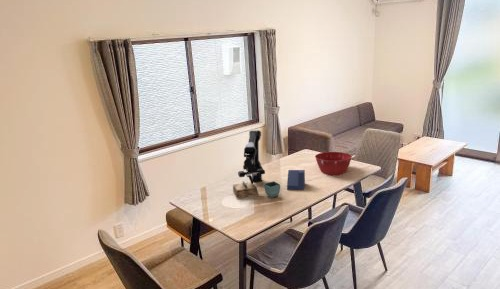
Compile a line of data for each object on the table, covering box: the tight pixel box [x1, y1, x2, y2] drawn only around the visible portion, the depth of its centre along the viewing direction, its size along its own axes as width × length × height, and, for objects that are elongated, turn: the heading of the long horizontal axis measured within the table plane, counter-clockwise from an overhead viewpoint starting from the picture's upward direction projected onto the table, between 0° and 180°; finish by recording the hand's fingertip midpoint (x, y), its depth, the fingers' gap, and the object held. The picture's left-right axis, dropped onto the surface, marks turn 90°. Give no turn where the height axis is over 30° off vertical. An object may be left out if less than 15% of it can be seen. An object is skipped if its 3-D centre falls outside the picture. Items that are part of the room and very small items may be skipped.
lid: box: [232, 181, 258, 191], centre depth 261 cm, size 14×13×3 cm
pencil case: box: [232, 185, 258, 199], centre depth 262 cm, size 15×13×4 cm
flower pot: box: [263, 181, 281, 198], centre depth 253 cm, size 9×9×9 cm
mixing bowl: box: [314, 151, 353, 176], centre depth 291 cm, size 28×28×16 cm
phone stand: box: [286, 169, 306, 191], centre depth 266 cm, size 12×12×12 cm
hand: (252, 184), depth 262 cm, fingers closed
